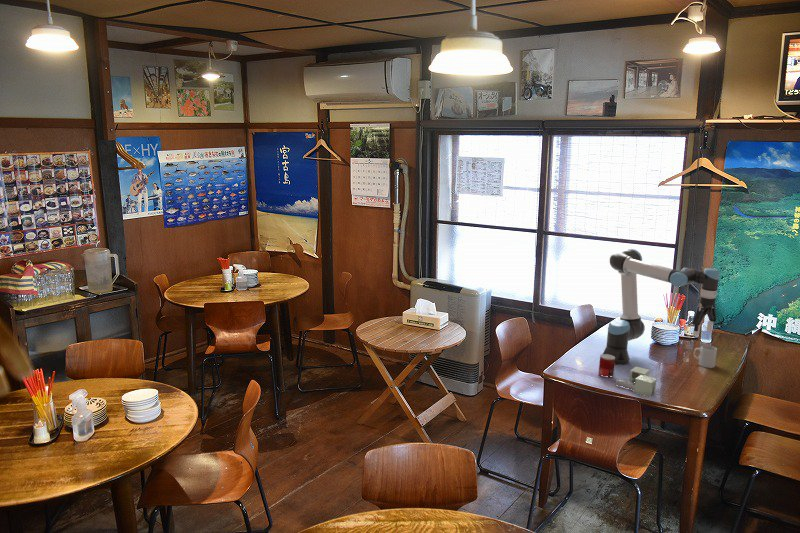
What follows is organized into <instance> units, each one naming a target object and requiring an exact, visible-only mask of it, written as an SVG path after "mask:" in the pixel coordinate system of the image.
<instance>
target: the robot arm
mask: <svg viewBox="0 0 800 533" xmlns="http://www.w3.org/2000/svg"><path fill="white" fill-rule="evenodd" d="M609 265H610V267H611V268H612V269H614V271H617V272H618V273H619V274H620V278H621V284H620V285H621V304H622V305H621V306H622V309H621V310H622V314H621V316H620V318H619V319H613V320H611V321H610V322H608V326H607V335H606V336H607V337H606V346H605V348H604V350H603V352H602V354H609V355H612V356H614V357H615V365H618V364H623V365H627V364H629V362H630V355H629V351H628V346H629V342H630V341H632V340H633V341H634V340H636V339H638V338H640V337H641V336H643V335H644V333H645V330H646V328H645V327H646V326H645V323H644V322H643V320H642V318H641V316H640V314H639V308H638V307H639V306H638V305H639V304H638V287H637V286H638V284H637V283H638V281H637V280H638V279H637V275H640V276H643V277H647V278H651V279H654V280H658V281H662V282H666V283H670V284H671V285H672V286H674V287H684V286H687V285H690V284H696V285H700V286H701V291H700V292H701V293H700V298H699V303H700V304H701V306H698V307H697V310H696V313H695V315H694V318H693V320H692V325H694V327H693V332H692V333H693V334H692V336H693V337H695V338H699V335H700V332H701V331H700V330H701V323H702V321H703V320H704V318H705V317H706V315H707V317H708V318H707V319H708V321H707V326H706V331H705V332H706V333H707V334H709V333H710V334H712V333H713V329H714V328H713V327H714V323H715V322H717V312H716V306H717V305H716V301H717V295H718V287H719V283H720V282H719V281H720V273H721V272H720V270H719V269H718V268H712V267H706V268H704V270H701V269H696V268H691V267H683V268H682V269H681V270H678V269H673V268H670V267H666V266H661V265H658V264H654V263H650V262H645V261H643V257H642V255H641V253H640V252H639V251H638V250H637V249H634V248H625V249H620V250H616V251H614V252H613V253H612V254H611V255H610V257H609Z"/></svg>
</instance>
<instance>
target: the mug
mask: <svg viewBox="0 0 800 533" xmlns="http://www.w3.org/2000/svg"><path fill="white" fill-rule="evenodd" d="M697 351H698V352H699V356H697V355H696V352H697ZM717 353H718V348H717V347H715V346H713V345H708V344H704V345H701V346H700V347H695V348H694V350H693V358H694V359H695V360H698V365H699V366H700V367H703V368H706V369H713V368H715V366H716V361H717V360H716V359H717Z"/></svg>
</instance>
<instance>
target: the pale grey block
mask: <svg viewBox="0 0 800 533" xmlns="http://www.w3.org/2000/svg"><path fill="white" fill-rule="evenodd" d="M615 381H616V382H615V386H616V385H618V386H623V387H625V388H629V389H632V390H634V391H633V393H634V392H635V393H638V394H637V395H639V394H641V395H640V396H642V395H645V396H644V397H646V396H649V397H650V396H651V397H652V395H653V394H652V393H654V394H656V385H657V378H655V377H652V376H649V377H648V376H644V375H640V376H638V377H637V378H635V383H633V382H630V381H629V380H626V379H622V378H617V379H616V380H615ZM635 393H634V394H635ZM651 394H652V395H651ZM649 397H648V398H649ZM651 397H650V398H651Z"/></svg>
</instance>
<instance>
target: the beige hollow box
mask: <svg viewBox="0 0 800 533" xmlns="http://www.w3.org/2000/svg"><path fill="white" fill-rule="evenodd" d="M640 375H644V376H648V377H650V369H648V368H644V367H640V366H634V367H633V368H632V369H630V371H629V380H628V381H630V382H633V383H634V382H635V378H637V377H638V376H640Z"/></svg>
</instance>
